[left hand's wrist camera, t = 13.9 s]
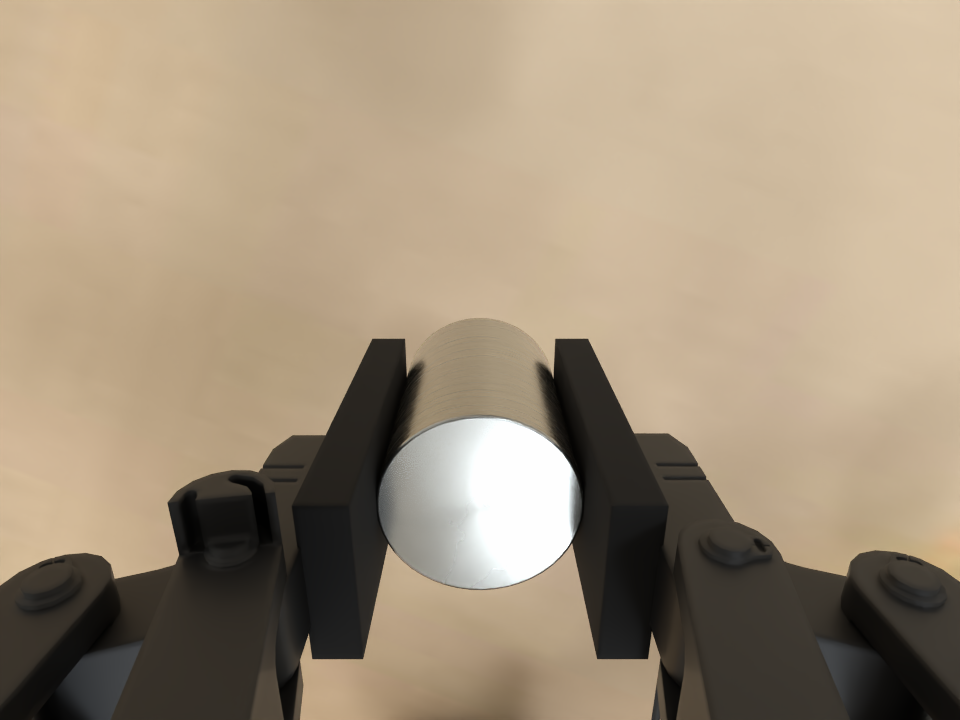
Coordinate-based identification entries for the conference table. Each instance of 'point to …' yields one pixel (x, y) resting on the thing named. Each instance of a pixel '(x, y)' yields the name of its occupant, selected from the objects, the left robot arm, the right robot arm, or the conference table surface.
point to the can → (479, 461)
